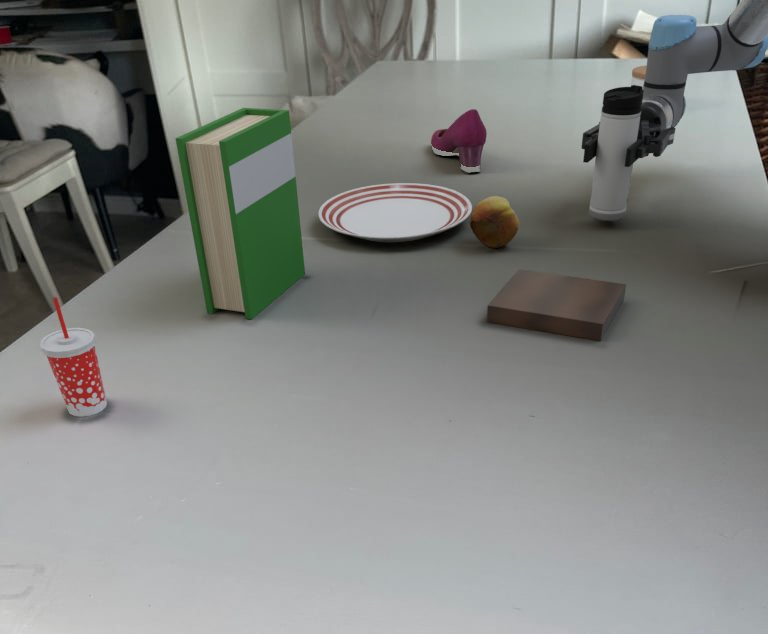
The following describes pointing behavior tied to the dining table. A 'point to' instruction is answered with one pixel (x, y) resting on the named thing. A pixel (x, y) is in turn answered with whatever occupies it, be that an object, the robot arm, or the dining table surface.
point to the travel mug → (615, 152)
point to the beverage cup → (75, 367)
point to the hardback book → (243, 208)
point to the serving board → (557, 304)
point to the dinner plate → (395, 211)
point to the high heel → (463, 138)
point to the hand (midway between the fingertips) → (607, 155)
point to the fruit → (494, 222)
